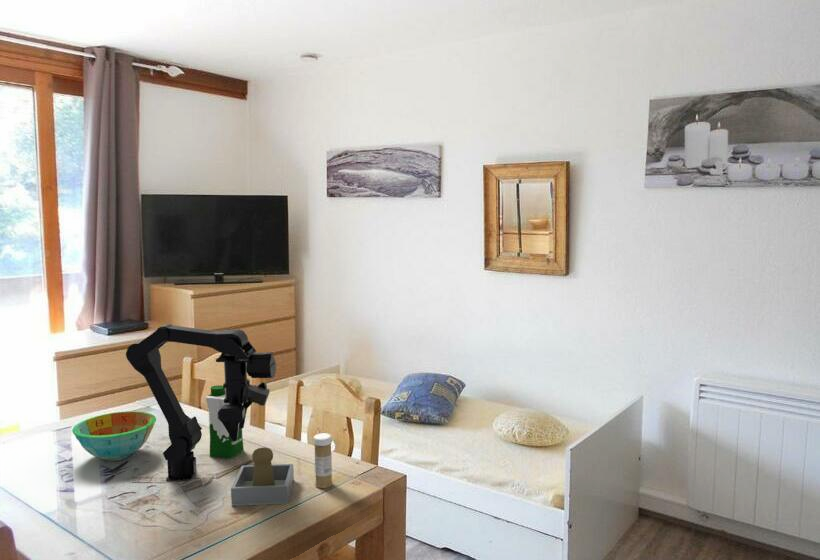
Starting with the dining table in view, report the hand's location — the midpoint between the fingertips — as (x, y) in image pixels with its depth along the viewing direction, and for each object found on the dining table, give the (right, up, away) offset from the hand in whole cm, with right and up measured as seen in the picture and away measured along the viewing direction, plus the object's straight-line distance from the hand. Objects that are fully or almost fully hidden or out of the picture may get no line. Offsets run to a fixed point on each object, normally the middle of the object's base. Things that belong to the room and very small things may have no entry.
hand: (238, 434), depth 171 cm
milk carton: (-8, -10, +18) cm, 22 cm away
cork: (+9, -13, -8) cm, 17 cm away
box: (+9, -13, -8) cm, 18 cm away
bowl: (-40, -11, +17) cm, 45 cm away
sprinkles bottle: (+23, -13, -4) cm, 27 cm away
